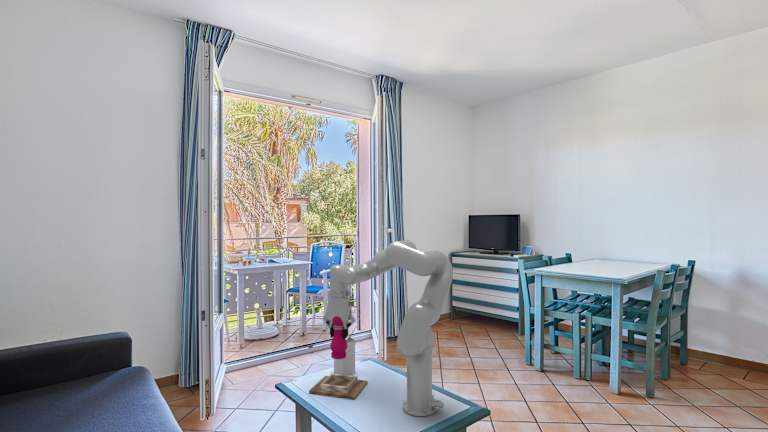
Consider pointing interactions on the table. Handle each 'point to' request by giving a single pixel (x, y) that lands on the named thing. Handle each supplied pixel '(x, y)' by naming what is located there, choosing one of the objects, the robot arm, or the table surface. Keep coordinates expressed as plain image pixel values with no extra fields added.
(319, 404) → the table surface
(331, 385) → the stand
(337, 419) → the table surface
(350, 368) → the milk carton
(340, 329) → the pepper mill
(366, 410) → the table surface
